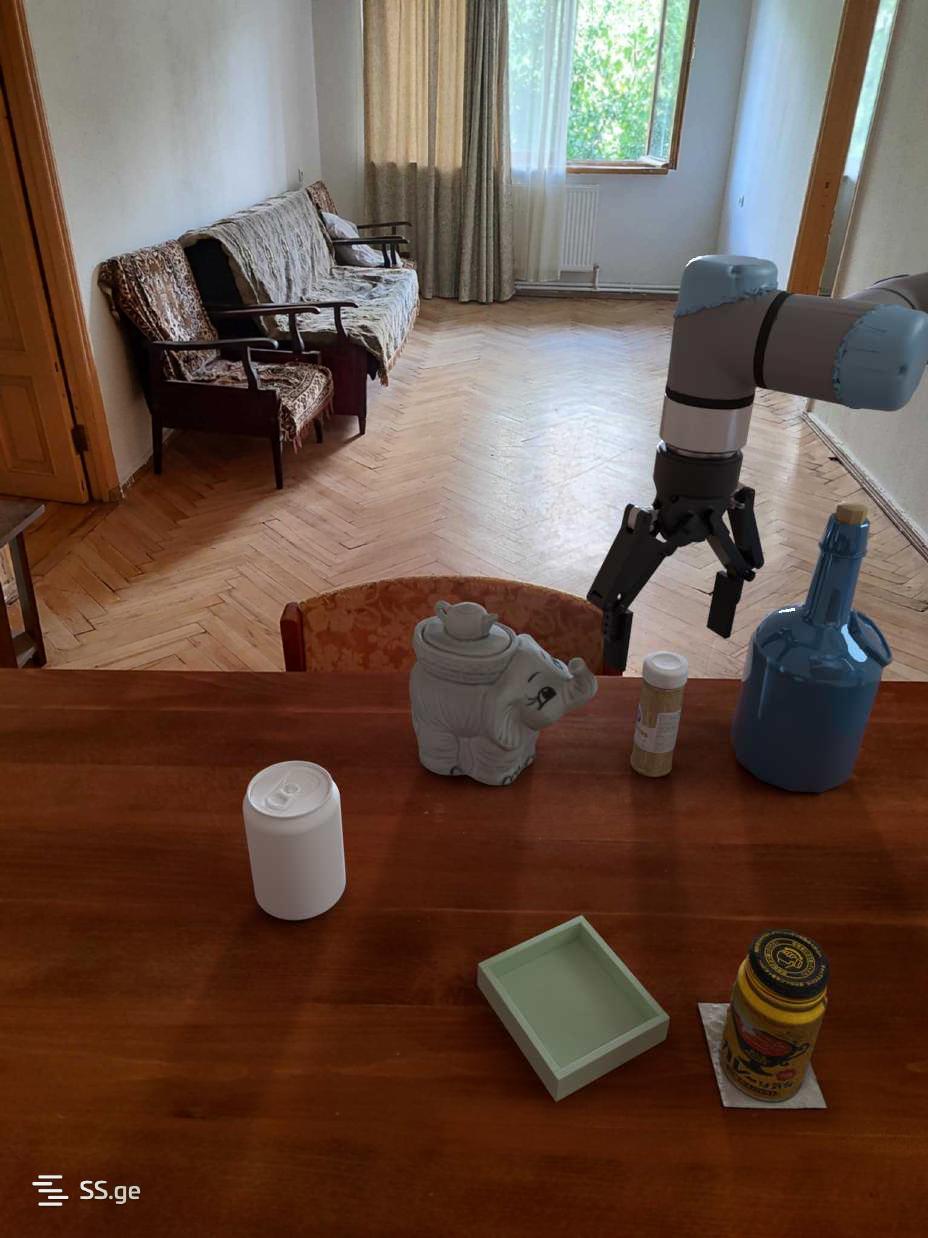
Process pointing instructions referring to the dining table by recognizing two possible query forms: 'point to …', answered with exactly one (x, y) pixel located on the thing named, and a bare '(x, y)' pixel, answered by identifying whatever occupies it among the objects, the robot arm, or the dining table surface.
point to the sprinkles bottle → (659, 713)
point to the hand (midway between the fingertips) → (667, 648)
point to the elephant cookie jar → (486, 693)
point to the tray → (571, 1006)
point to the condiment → (770, 1024)
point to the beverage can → (295, 840)
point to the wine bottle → (813, 672)
